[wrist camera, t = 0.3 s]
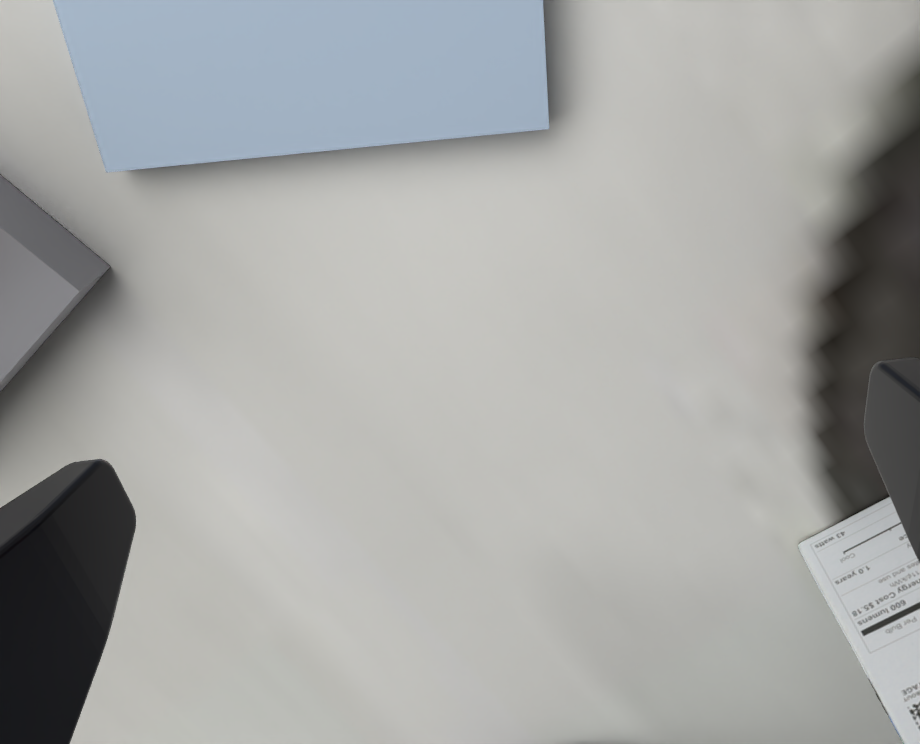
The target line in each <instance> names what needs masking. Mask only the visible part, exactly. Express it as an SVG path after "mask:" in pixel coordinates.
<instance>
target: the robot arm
mask: <svg viewBox="0 0 920 744" xmlns="http://www.w3.org/2000/svg"><path fill="white" fill-rule="evenodd" d="M864 432H865V437H866V441H867V444H868V447H869V449H870V451H871V454H872V456H873V458H874V461H875V463H876V465H877V468H878V470H879V472H880V475H881V477H882V479H883V482H884V484H885V486H886V489H887V491H888V493H889V496H890V498H891V500H892V503H893V505H894V507H895V510H896V512H897V514H898V517H899V519H900V521H901V524H902V526H903V528H904V531H905V533H906V535H907V538H908V540H909V542H910V544H911V546H912V548H913V550H914V553H915V555H916V557H917V559H918V561H919V562H920V359H919V358H914V357H908V358H900V359H893V360H885V361H879V362H877V363H876V364H875V365H874V366H873V367H872V370H871V372H870V377H869V385H868V393H867V401H866V410H865V418H864ZM135 528H136V515H135V511H134V508H133V506H132V504H131V502H130V500H129V498H128V496H127V494H126V492H125V490H124V488H123V486H122V484H121V482H120V480H119V478H118V476H117V474H116V472H115V470H114V468H113V467H112V465H111V464H110V463H109V462H107V461H105V460H102V459H96V460H88V461H80V462H74V463H71V464H69V465H67V466H65V467H64V468H62V469H60V470H59V471H57V472H56V473H54V474H53V475H51V476H50V477H48V478H46V479H45V480H43V481H42V482H40V483H39V484H37V485H35V486H34V487H32V488H31V489H29V490H28V491H26V492H25V493H23V494H21V495H20V496H18V497H17V498H15V499H14V500H12V501H11V502H9V503H7V504H6V505H4V506H3V507H1V508H0V744H70V741H71V739H72V736H73V733H74V730H75V728H76V725H77V722H78V719H79V717H80V714H81V711H82V708H83V706H84V703H85V700H86V697H87V695H88V692H89V689H90V687H91V684H92V681H93V678H94V676H95V673H96V670H97V667H98V665H99V662H100V659H101V656H102V653H103V650H104V647H105V644H106V641H107V639H108V635H109V631H110V628H111V624H112V621H113V617H114V613H115V609H116V605H117V601H118V597H119V593H120V589H121V585H122V581H123V577H124V573H125V569H126V565H127V561H128V557H129V553H130V549H131V545H132V541H133V537H134V533H135Z"/></svg>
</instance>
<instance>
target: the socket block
mask: <svg viewBox="0 0 920 744" xmlns="http://www.w3.org/2000/svg"><path fill="white" fill-rule="evenodd" d="M109 268H110V266H109V265H108V264H107V263H106V262H104V261H103V260H102V259H101V258H100V257H98V256H97V255H96V254H95V253H94V252H92V251H91V250H90V249H89V248H88V247H86V246H85V245H84V244H83V243H82V242H80V241H79V240H78V239H77V238H76V237H74V236H73V235H72V234H71V233H70V232H68V231H67V230H66V229H65V228H64V227H62V226H61V225H60V224H59V223H58V222H56V221H55V220H54V219H53V218H52V217H50V216H49V215H48V214H47V213H46V212H44V211H43V210H42V209H41V208H40V207H38V206H37V205H36V204H35V203H34V202H32V201H31V200H30V199H29V198H28V197H26V196H25V195H24V194H23V193H22V192H20V191H19V190H18V189H17V188H16V187H14V186H13V185H12V184H11V183H10V182H8V181H7V180H6V179H5V178H4V177H2V176H1V175H0V392H1V391H2V389H3V388H4V387H5V386H6V385H7V384H8V383H9V381H10V380H11V379H12V378H13V377H14V376H15V375H16V373H17V372H18V371H19V370H20V369H21V368H22V367H23V365H24V364H25V363H26V362H27V361H28V360H29V359H30V358H31V356H32V355H33V354H34V353H35V352H36V351H37V350H38V348H39V347H40V346H41V345H42V344H43V343H44V342H45V340H46V339H47V338H48V337H49V336H50V335H51V334H52V332H53V331H54V330H55V329H56V328H57V327H58V326H59V324H60V323H61V322H62V321H63V320H64V319H65V318H66V317H67V315H68V314H69V313H70V312H71V311H72V310H73V309H74V307H75V306H76V305H77V304H78V303H79V302H80V301H81V299H82V298H83V297H84V296H85V295H86V294H87V293H88V291H89V290H90V289H91V288H92V287H93V286H94V285H95V283H96V282H97V281H98V280H99V279H100V278H101V277H102V276H103V274H104V273H105V272H106V271H107V270H108V269H109Z"/></svg>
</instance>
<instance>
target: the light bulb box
mask: <svg viewBox="0 0 920 744" xmlns="http://www.w3.org/2000/svg"><path fill="white" fill-rule="evenodd" d="M798 548H799V550H800V552H801V554H802V557H803V559H804V561H805V563H806V565H807V567H808V568H809V570H810V572H811V574H812V576H813V578H814V580H815V582H816V584H817V586H818V587H819V589H820V591H821V593H822V595H823V597H824V598H825V600H826V602H827V604H828V606H829V608H830V609H831V611H832V613H833V615H834V617H835V618H836V620H837V622H838V624H839V626H840V627H841V629H842V631H843V633H844V635H845V636H846V638H847V640H848V642H849V644H850V645H851V647H852V649H853V651H854V653H855V655H856V657H857V659H858V660H859V662H860V664H861V666H862V668H863V670H864V672H865V674H866V675H867V677H868V679H869V681H870V683H871V685H872V687H873V689H874V690H875V692H876V695H877V697H878V699H879V700H880V702H881V704H882V706H883V708H884V710H885V711H886V713H887V715H888V716H889V718H890V720H891V722H892V724H893V725H894V727H895V729H896V731H897V733H898V735H899V737H900V738H901V740H902V742H903V744H920V562H919V561H918V559H917V557H916V555H915V553H914V550H913V548H912V546H911V544H910V542H909V540H908V538H907V535H906V533H905V531H904V528H903V526H902V524H901V521H900V519H899V517H898V514H897V512H896V510H895V507H894V505H893V503H892V500H891V498H890V497H888V498H886V499H884V500H882V501H880V502H878V503H876V504H875V505H873V506H871V507H869V508H867V509H865V510H863V511H861V512H859V513H857V514H855V515H853V516H851V517H849V518H848V519H846V520H844V521H842V522H840V523H838V524H836V525H834V526H832V527H830V528H828V529H826V530H824V531H822V532H820V533H818V534H816V535H814V536H812V537H810V538H808V539H806V540H804V541H803V542H801V543H800V544H799V545H798Z"/></svg>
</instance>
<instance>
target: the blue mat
mask: <svg viewBox="0 0 920 744" xmlns="http://www.w3.org/2000/svg"><path fill="white" fill-rule="evenodd" d="M53 2H54V5H55V9H56V12H57V15H58V18H59V22H60V25H61V28H62V31H63V34H64V38H65V41H66V44H67V47H68V51H69V54H70V57H71V60H72V64H73V67H74V70H75V73H76V76H77V80H78V83H79V86H80V89H81V93H82V96H83V99H84V102H85V105H86V109H87V112H88V115H89V118H90V122H91V125H92V128H93V131H94V134H95V138H96V141H97V144H98V147H99V151H100V154H101V157H102V160H103V163H104V167H105V170H106V172H116V171H126V170H136V169H146V168H156V167H167V166H177V165H187V164H197V163H207V162H218V161H228V160H238V159H248V158H258V157H269V156H279V155H289V154H299V153H309V152H320V151H330V150H340V149H350V148H360V147H371V146H381V145H391V144H401V143H411V142H422V141H432V140H442V139H452V138H462V137H473V136H483V135H493V134H503V133H513V132H524V131H534V130H544V129H549V114H548V93H547V73H546V52H545V31H544V11H543V0H53Z"/></svg>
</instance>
